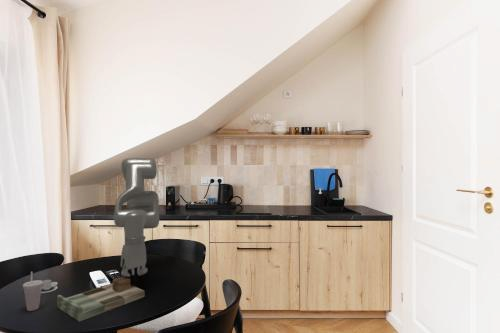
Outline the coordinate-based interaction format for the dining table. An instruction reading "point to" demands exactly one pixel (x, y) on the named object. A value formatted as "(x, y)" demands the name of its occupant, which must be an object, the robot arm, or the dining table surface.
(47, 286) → the teacup and saucer
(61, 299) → the board
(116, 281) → the walnut block
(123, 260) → the robot arm
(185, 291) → the dining table surface
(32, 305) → the smoothie
